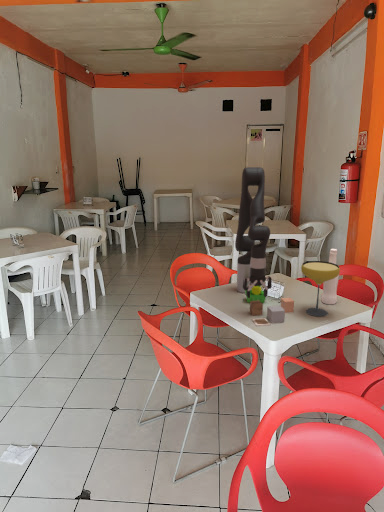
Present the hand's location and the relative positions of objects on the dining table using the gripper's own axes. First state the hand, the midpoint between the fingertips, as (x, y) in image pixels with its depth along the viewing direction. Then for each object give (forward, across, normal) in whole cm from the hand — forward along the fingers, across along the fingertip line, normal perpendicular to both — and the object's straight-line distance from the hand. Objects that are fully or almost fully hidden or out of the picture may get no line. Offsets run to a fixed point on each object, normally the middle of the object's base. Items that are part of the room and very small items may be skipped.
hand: (256, 297), depth 195 cm
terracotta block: (+9, -17, -1) cm, 19 cm away
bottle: (+9, -44, -8) cm, 46 cm away
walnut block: (+9, 0, 0) cm, 9 cm away
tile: (+9, +1, +11) cm, 14 cm away
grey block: (+9, -7, +9) cm, 14 cm away
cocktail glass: (+9, -31, +4) cm, 33 cm away
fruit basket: (+9, -5, -16) cm, 19 cm away
